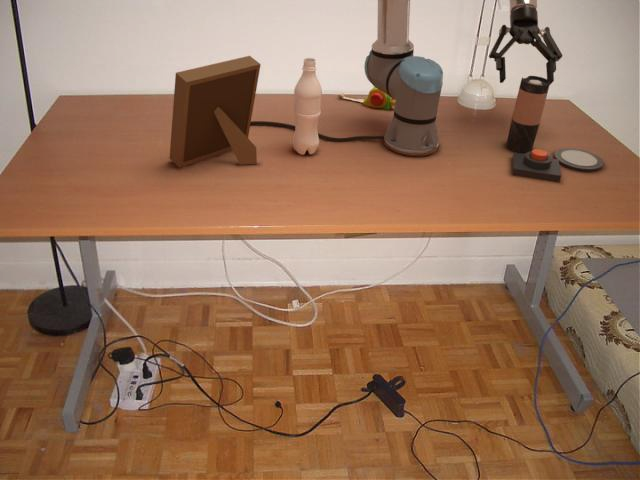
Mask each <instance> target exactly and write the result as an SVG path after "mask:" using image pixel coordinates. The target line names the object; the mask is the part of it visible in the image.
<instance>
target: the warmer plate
mask: <svg viewBox="0 0 640 480" xmlns="http://www.w3.org/2000/svg"><path fill="white" fill-rule="evenodd" d="M553 159H558V160H559V166H560V167H563V168H565V169H568V170H571V171H575V172H580V173H595V172H599V171H601V170H602V169H603V166H604V161H603V159H602V158H601V157H600V156H598V155H597V154H595V153H593V152H591V151H589V150H585V149H581V148H573V147H563V148H559V149H557V150H556V151H555V152H554V154H553Z"/></svg>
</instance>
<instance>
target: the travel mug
mask: <svg viewBox="0 0 640 480" xmlns="http://www.w3.org/2000/svg"><path fill="white" fill-rule="evenodd" d="M550 86H551V84H550V82H549V80H547V78H545V77H542V76H538V75H528V76H527V77H521V80H520V84H519V87H518V92H517V95H516V98H515V99H516V100H515V103H514V107H513V111H512V116H511V120H510V125H509V130H508V135H507V140H506V146H505V147H506V149H507V150H509V151H510V152H513V153H519V154H525V153H527V152H531V151H532V150H533V147H534V144H535V140H536V138H537V135H538V131H539V127H540V123H541V120H542V117H543V112H544V109H545V105H546V101H547V97H548V92H549V89H550Z"/></svg>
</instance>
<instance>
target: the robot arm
mask: <svg viewBox="0 0 640 480" xmlns="http://www.w3.org/2000/svg"><path fill="white" fill-rule="evenodd" d="M508 3H509V5H508V6H509V26H510V27H509V26H508V27H507V25H506V24H502V25H501V27H500V29H499V31H498V37H497V39H496V41H495V43H494V45H493V47H492V49H491V51H490V53H489V55H488V58H489V59H494V60H493V61H494V62H495V69H496V71H498V72H499V84H503V83H504V82H505V81H506V79H507V76H506V56H504V55H505V54H506V53H507V52H508V51H509V50H510V48H511V47H512V46H513V45H514V44H515V43H517V44H518V45H523V44H524V45H531V46H532V47H534V48H535V49H536V50H537V51H538V52H539V53H540V54H541V56H543V58H544V59H545V60H546V61H547V62H546V63H545V68H546V79H547V80H549V82H550V85H551V84H553V83H554V81H555V75H554V73H555V72H556V71H557V62H559V61H560V60H561V59H562V58H563V56H564V55H563V54H562V52H561V50H560V48H559V46H558V45H557V43H556V41H555V39H554V38H553V36H552V34H551V29H550V27H549V26H546V27H545V28H539V17H538V16H539V15H538V0H508ZM410 13H411V0H377V23H376V26H377V27H376V28H377V29H376V31H377V34H376V36H377V37H376V40H374V42H373V43H372V44H371V50H370V51H369V53H368V55H366V58H365V61H364V74H365V77H366V79H367V80H368V82H369V83H371V85H372V86H373V88H374V87H376V88H377V89H379V90H381V91H383V92H384V93H385V94H387V95H388V96H390V99H391V98H393V99H394V100H395V106H394V109H393V116H392V117H391V118H392V119H391V121H390V122H389V124H388V127H387V129H386V131H385V133H384V135H358V136H357V135H356V136H349V137H333V136H328V135H324V134H322V133H319V132H318V137H319V139H323V140H325V141H333V142H350V141H357V140H383V145H384V147H385V148H386V149H388V150H389V151H391V152H393V153H396V154H398V155H401V156H406V157H427V156H431V155H433V154H434V153H436V152H437V151H438V149H439V143H440V140H439V133H438V129H437V122H436V121H437V115H438V109H439V105H440V100H441V99H440V98H441V93H442V88H443V83H444V82H443V79H444V71H443V68H442V66H441V65H440V64H439V63H437V62H436V61H435V60H433V59H431V58H425V56H420V55H419V56H417V55H414V52H415V51H414V48H415V45H414V43H413V42H412V41H411V40H410V39H409V38H410V15H411V14H410ZM508 34H509V35H510V36H511V37H512V38H510V40H508V42H507V43H506V44H505V46H503V48H501V50H500V51H499V52H497V51H498V50H499V48H500V46H501V44H502V42H503V40H504V38H505V36H507V35H508ZM251 125H252V126H253V125H261V126H263V125H264V126H267V125H268V126H275V127H276V126H277V127H283V128H288V129H292V130H295V127H296V125H293V124H289V123H285V122H277V121H266V120H251V124H250V126H251Z"/></svg>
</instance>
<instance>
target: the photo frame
mask: <svg viewBox="0 0 640 480" xmlns="http://www.w3.org/2000/svg"><path fill="white" fill-rule="evenodd" d="M260 70H261V63H260V62H259V61H258V60H256V59H255V58H254V57H252V56H251V55H247V56H242V57H238V58H234V59H229V60H225V61H221V62H220V61H219V62H216V63H211V64H208V65H203V66H199V67H193V68H191V69H185V70H182V71H181V70H180V71H177V72H175V77H174V78H175V79H174V89H173V90H174V91H173V103H172V104H173V106H172V118H171V132H170V147H169V160H171V162H172V163H174V164H175V166H177V167H178V168H179V169H180V168H183V167H187V166H190V165H192V164H195V163H198V162H201V161H204V160H207V159H211V158H213V157H216V156H220V155H223V154H225V153H228V152H231V151H233V154H234V155H235V158H236V160H237V162H238V164H239V165H240V166H241V165H242V166H243V165H256V164H258V158H257V154H258V153H257V146H256V145H255V144H254V143H253V142H252V141H251V140H250V138H249V136H250V135H249V134H250V130H251V129H250V128H251V125H250V124H251V121H252V117H253V112H254V106H255V100H256V95H257V88H258V83H259V76H260Z"/></svg>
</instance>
